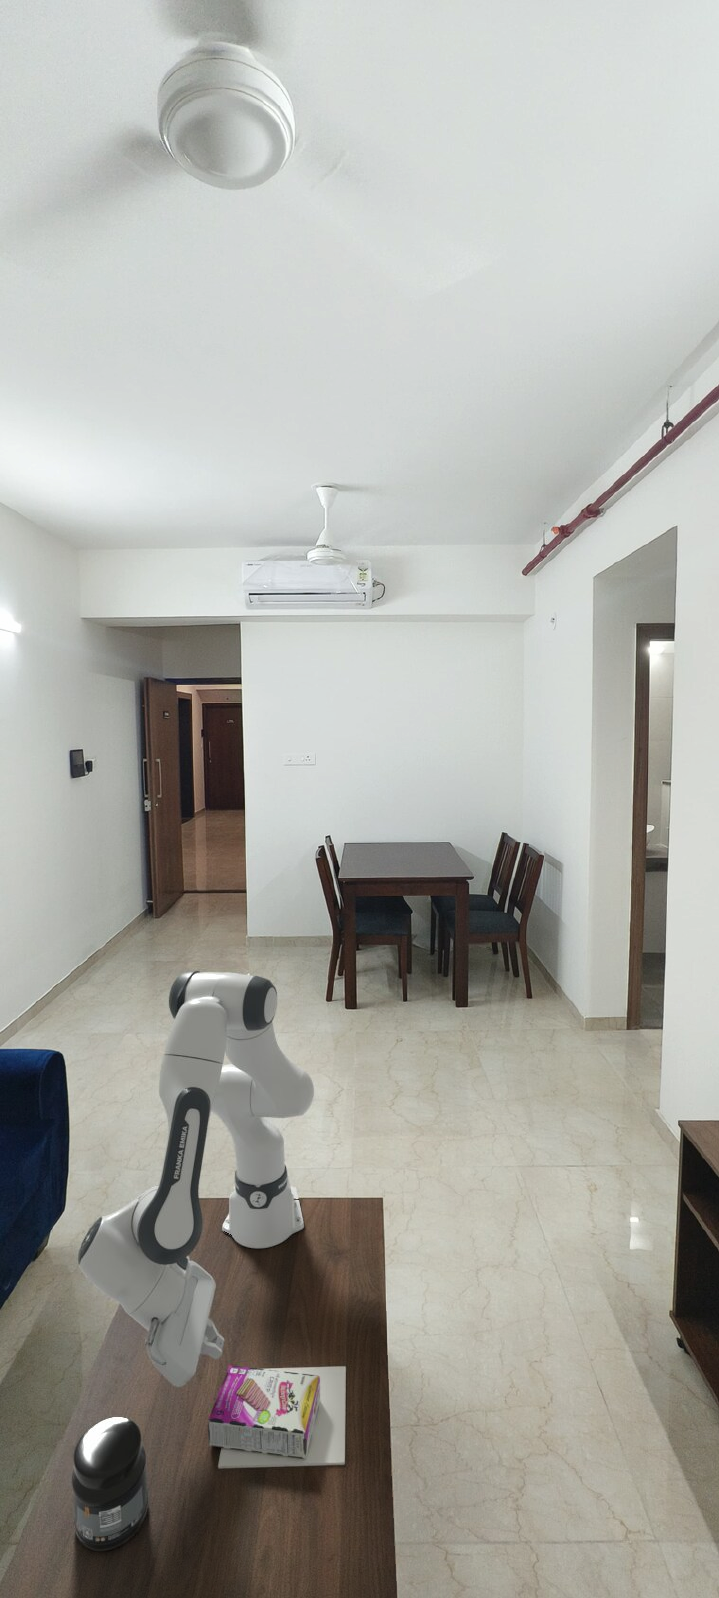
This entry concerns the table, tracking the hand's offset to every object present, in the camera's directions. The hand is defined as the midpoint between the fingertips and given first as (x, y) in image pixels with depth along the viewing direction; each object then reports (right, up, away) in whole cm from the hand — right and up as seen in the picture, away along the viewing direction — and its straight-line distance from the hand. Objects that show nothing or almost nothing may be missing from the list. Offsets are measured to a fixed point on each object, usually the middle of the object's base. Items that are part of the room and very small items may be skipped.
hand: (220, 1350), depth 129 cm
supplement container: (-13, -15, -15) cm, 25 cm away
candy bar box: (-1, -9, +1) cm, 9 cm away
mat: (+11, -12, +1) cm, 16 cm away
